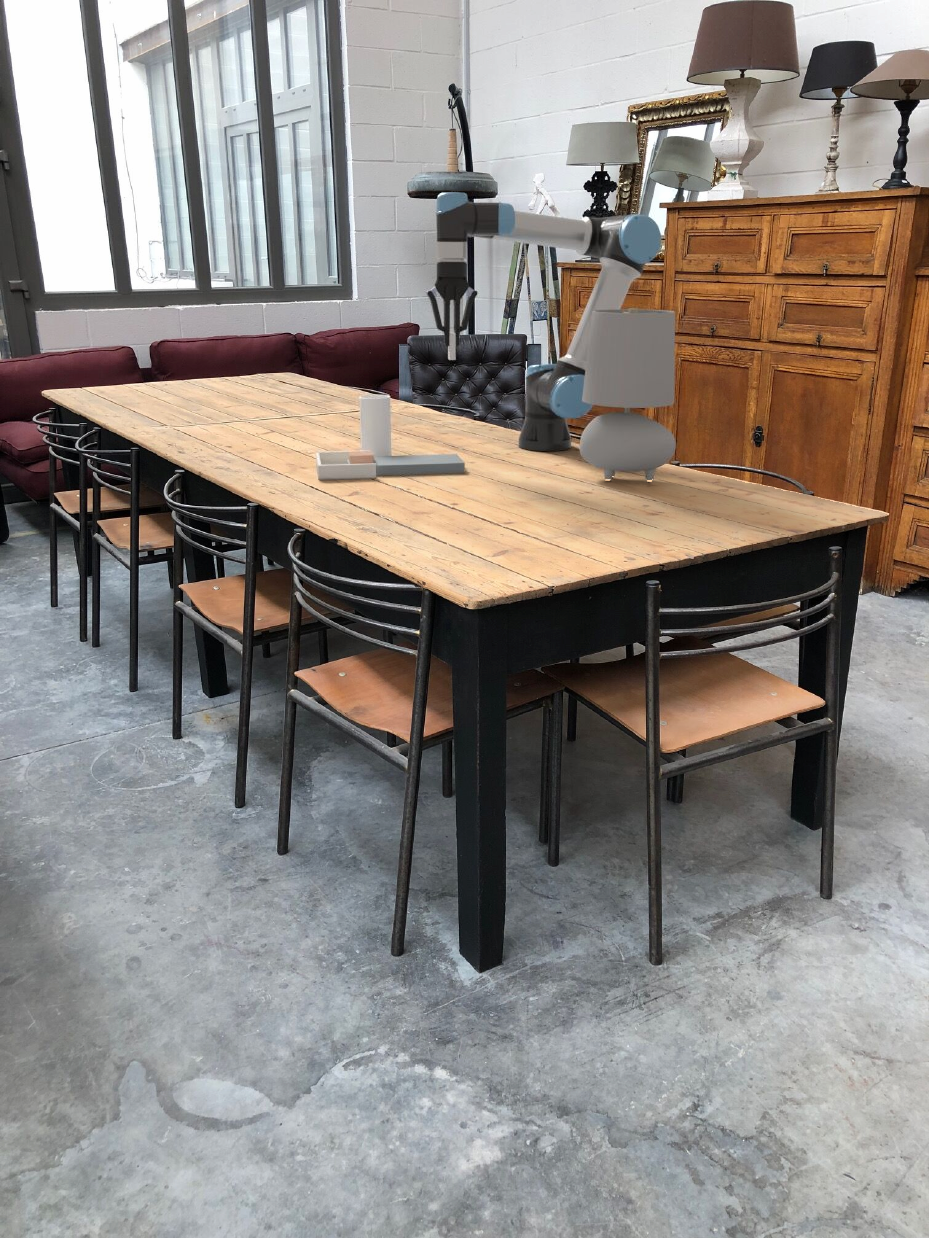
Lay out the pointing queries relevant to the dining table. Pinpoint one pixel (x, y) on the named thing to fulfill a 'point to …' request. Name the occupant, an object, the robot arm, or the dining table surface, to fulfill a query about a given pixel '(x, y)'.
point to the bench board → (419, 464)
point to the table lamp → (629, 389)
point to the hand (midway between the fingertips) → (451, 359)
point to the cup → (375, 424)
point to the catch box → (341, 467)
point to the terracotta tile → (360, 457)
